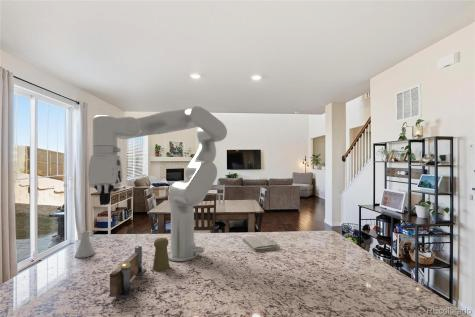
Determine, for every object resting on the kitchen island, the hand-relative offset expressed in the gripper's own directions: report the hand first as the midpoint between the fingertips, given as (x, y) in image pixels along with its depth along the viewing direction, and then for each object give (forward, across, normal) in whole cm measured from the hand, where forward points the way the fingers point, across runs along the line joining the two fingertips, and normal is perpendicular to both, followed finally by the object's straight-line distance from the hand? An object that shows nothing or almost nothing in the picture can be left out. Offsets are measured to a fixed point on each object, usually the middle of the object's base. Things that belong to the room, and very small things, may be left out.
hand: (105, 204), depth 87 cm
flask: (+25, +21, -19) cm, 38 cm away
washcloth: (+26, -54, -37) cm, 70 cm away
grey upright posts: (+25, -11, +3) cm, 28 cm away
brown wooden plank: (+24, -10, +6) cm, 27 cm away
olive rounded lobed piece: (+25, -17, -9) cm, 32 cm away
